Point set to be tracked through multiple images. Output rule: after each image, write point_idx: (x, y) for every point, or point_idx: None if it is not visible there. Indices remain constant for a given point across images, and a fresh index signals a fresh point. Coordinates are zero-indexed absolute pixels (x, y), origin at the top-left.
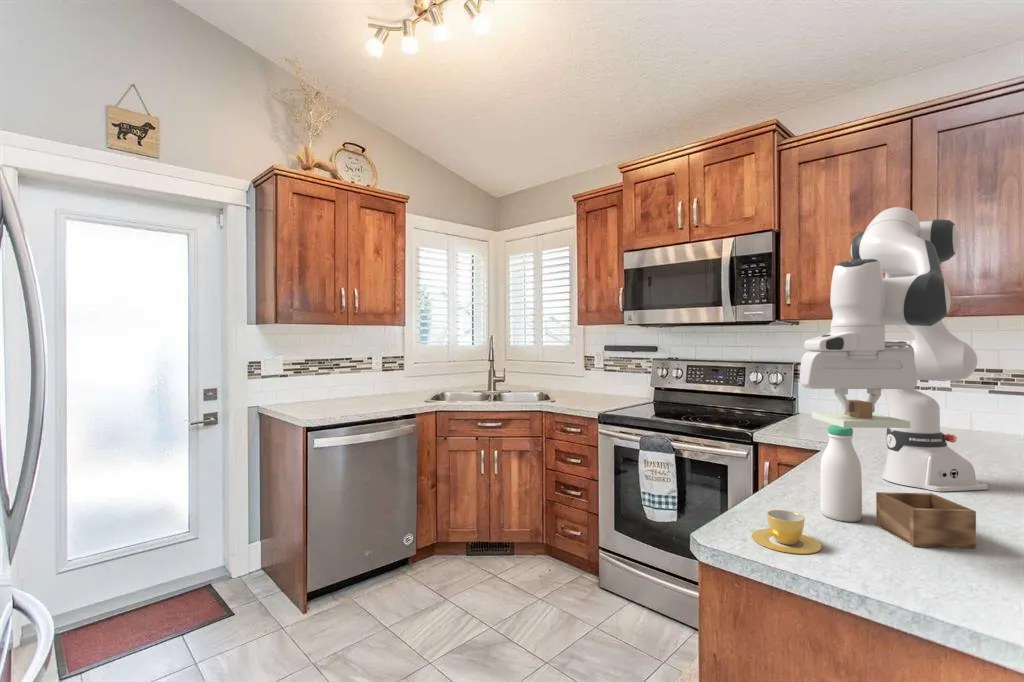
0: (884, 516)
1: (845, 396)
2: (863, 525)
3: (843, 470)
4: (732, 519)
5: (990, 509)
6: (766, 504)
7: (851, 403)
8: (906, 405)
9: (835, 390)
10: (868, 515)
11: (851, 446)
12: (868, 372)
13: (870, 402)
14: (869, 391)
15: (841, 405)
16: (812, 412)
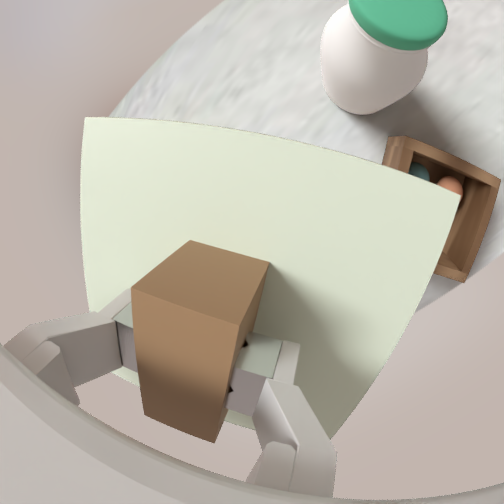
0: (388, 160)
1: (77, 385)
2: (364, 130)
3: (348, 89)
4: (149, 83)
5: None
6: (252, 8)
7: (133, 369)
8: None
9: (16, 348)
10: (415, 91)
11: (405, 62)
12: None
13: (214, 436)
14: (252, 475)
15: (111, 307)
16: (84, 125)
